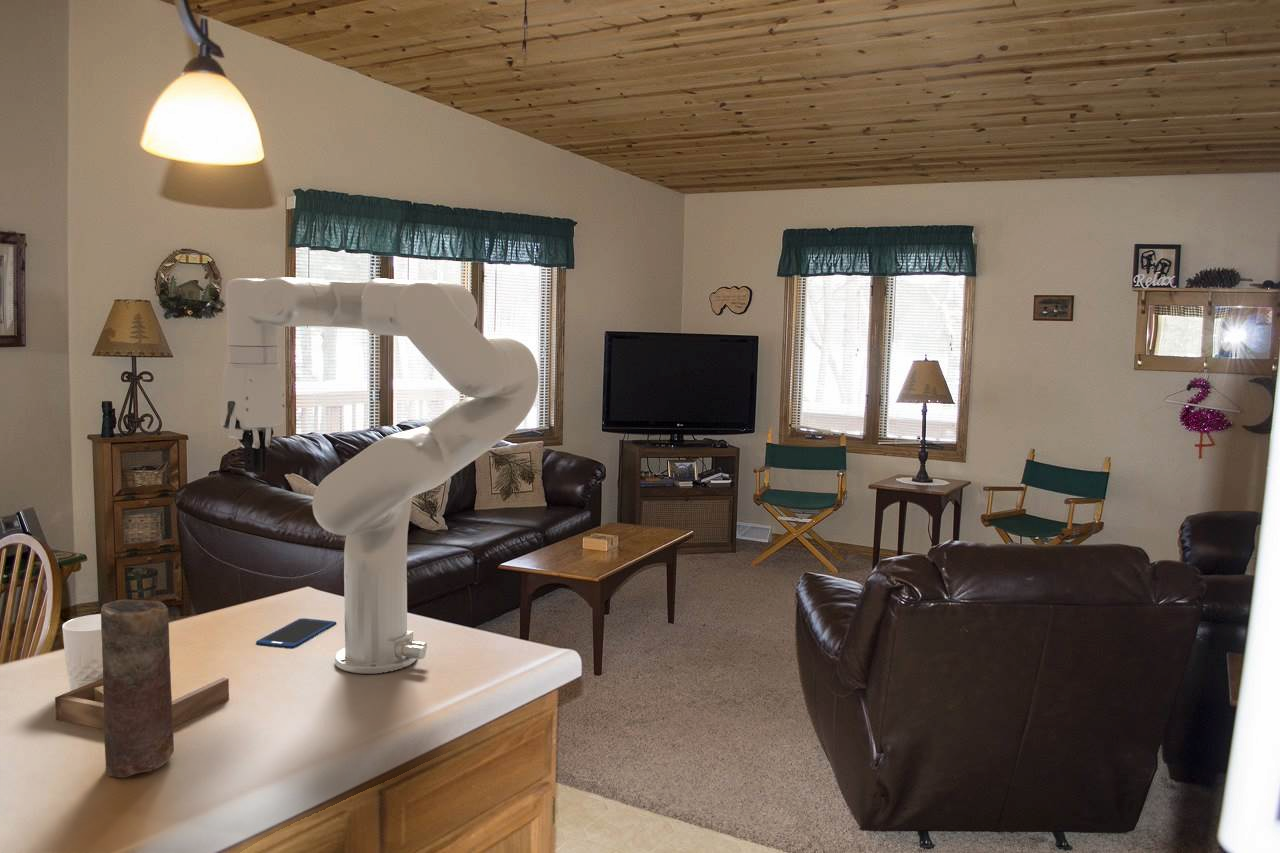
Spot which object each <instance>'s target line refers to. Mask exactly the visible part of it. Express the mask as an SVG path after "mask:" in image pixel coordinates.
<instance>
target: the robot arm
mask: <svg viewBox="0 0 1280 853" xmlns="http://www.w3.org/2000/svg"><path fill="white" fill-rule="evenodd" d="M225 292H226V293H225V297H226V336H227V365H226V366H224V369H223V372H222V380H221V386H220V398H219V399H220V400H219V401H220V402H219V422H220V426H221V428H223V429H227V430H228V431H227V437H228V438H231V439H234V440H238V441H239V443H240V447H241V448H243V459H244V460H243V461H244V462H243V464H244V465H243V466H244V472H245V473H254V474H262V473H266V472H268V468H269V467H268V447H270V445H271V439H272V437H273V436H275V435H276V434H278V433H279V432H281V431H282V427H281V426H282V424H283V423H284V421H285V416H286V414H285V413H286V402H285V390H284V388H285V387H284V381H283V376H282V369H281V366H280V357H279V356H280V350H279V327H288V328H289V327H320V328H321V327H324V328H326V327H327V328H329V327H330V328H345V329H346V328H347V329H357V330H367V331H368V332H369V333H370V334H372V335H378V336H395V337H407V338H408V339H409V341H410V342H411V343H412V344H413V346H415V348H416V349H417V350H418V351H419V353H421V354H422V356H423V357H424V358H425V359H426V360H427V361H428V363H430V364H431V365H432V367H433V368H435V370H436V371H437V372H438V373H439V374H440V375H441V376H442V377H443V379H445V381H447V383H448V385H450V386H451V387H452V388H454V389H455V391H457V392H458V393H461V395H464V396H466V398H463V399H462V400H460V401H459V402H456V403H455V404H454V405H452V406H450V407H449V408H448V409H447V410H445V412H443V413H442V414H440V415H438V416H437V417H435V418H434V419H433V420H431V421H429V422H428V423H426V424H423V425H422V426H419V427H416V428H412V429H411V428H410V429H407V430H403V431H399V432H395V433H392V434H388V435H387V436H384V437H382V438H380V439H378V440H377V441H375V442H373V443H372V444H370V445H368V446H367V447H366V448H365V449H363V450H361V451H360V452H359V453H357V454H356V455H355V456H353V457H351V458H350V459H349V460H347V461H346V462H344V463H343V464H342V465H340V466H339V467H337V468H336V469H334V470H333V471H332V472H330V473H329V474H328V475H326V476H325V477H324V478H323V479H322V480H321V481H320V482H319V484H318V486H316V489H315V491H314V493H313V498H312V507H311V508H312V513H313V516H314V519H315V520H316V522H317V523H318V525H319V526H320V527H321V528H323V530H325V531H327V532H329V533H331V534H334V535H337V536H345V542H344V552H343V555H344V556H343V560H344V561H343V563H344V564H343V565H344V566H343V579H344V580H343V582H344V584H343V585H344V586H343V587H344V591H343V592H344V599H343V600H344V647H343V648H341V649H340V650H338V651H337V652H336V654H335V655H334V664H335V666H336V667H337V668H339V669H341V670H342V671H345V672H349V673H355V674H363V675H364V674H365V675H366V674H381V673H383V672H384V673H388V672H389V671H390V672H394V670H395V671H398V669H399V670H401V669H404V667H405V668H406V667H409V666H411V665H412V664H414V663H415V662H416V661H417V660H424V658H425V657H426V655H427V649H428V644H427V643H426V642H424V641H423V642H422V641H415V640H414V631H413V630H408V582H407V581H408V577H407V576H408V573H407V572H408V568H407V567H408V566H407V565H408V532H409V524H410V516H411V510H412V505H413V504H412V502H413V497H415V496H417V495H418V496H419V495H420V494H422V493H426V492H428V491H430V490H431V491H432V490H433V489H435V488H437V487H439V486H441V485H442V484H443V483H445V482H446V481H448V479H449V478H451V477H452V476H454V475H455V474H456V473H458V472H459V471H461V470H463V469H464V468H465V467H467V466H468V465H469V464H471V463H472V462H474V461H475V460H477V459H479V457H481V456H483V454H485V453H486V452H487V451H489V450H490V449H492V448H493V447H494V446H496V445H497V444H499V443H500V442H502V441H503V440H504V439H505V438H506V437H508V436H509V435H510V434H512V433H513V432H514V431H515V430H516V429H517V428H518V427H519V426H520V425H521V423H523V421H524V420H525V419H526V418H527V417H528V415H529V413H530V412H531V410H532V408H533V406H534V404H535V401H536V399H537V394H538V389H539V381H540V380H539V378H540V377H539V368H538V362H537V361H536V359H535V356H534V355H533V353H532V351H531V350H530V349H529V348H528V346H526V345H525V344H524V343H522V342H520V341H518V340H517V339H516V340H515V339H512V338H509V337H487V338H486V337H485V336H484V335H483V334H482V332H480V330H478V328H477V327H476V326H475V323H476V321H477V318H478V305H477V301H476V299H475V297H474V295H473V294H472V292H470V290H468V289H467V288H466V287H464V286H463V285H460V284H458V283H454V282H452V281H450V282H449V281H439V280H427V279H426V280H425V279H424V280H413V279H412V280H409V279H393V278H391V279H389V278H373V279H370V280H369V281H368V282H367V281H363V282H361V281H344V280H343V281H341V280H328V279H327V280H326V279H314V278H306V277H305V278H303V277H302V278H301V277H290V276H289V277H287V276H286V277H272V278H266V279H265V278H244V277H243V278H233V279H230V280H229V281H228V282H227V284H226V289H225ZM390 672H389V673H390ZM384 673H383V674H384Z"/></svg>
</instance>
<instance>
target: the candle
mask: <svg viewBox="0 0 1280 853" xmlns="http://www.w3.org/2000/svg"><path fill="white" fill-rule="evenodd" d="M100 614H101V634H102V664H103V700H104V729H103V730H104V735H103V737H104V758H105V759H104V761H105V774H106V775H107V776H110V777H112V778H113V777H117V778H129V777H131V776H132V775H137V774H141V773H145V772H148V773H151V772H152V771H154V770H156V769H159V768H160V767H162V765H163V764H165V763H167V762H168V761H169V760H170V758H171V756H172V755H173V754H174V751H175V749H174V748H175V747H174V740H175V739H174V727H173V712H172V701H173V698H172V697H173V696H172V675H171V656H170V655H171V654H170V650H171V649H170V625H169V623H170V622H169V608H168V607H167V605H166V604H165V603H163V602H162V601H159V600H146V599H145V600H141V599H137V600H136V599H118V600H115V601H114V600H113V601H110V602H107V603H103V604H102V606H101V608H100Z"/></svg>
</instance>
